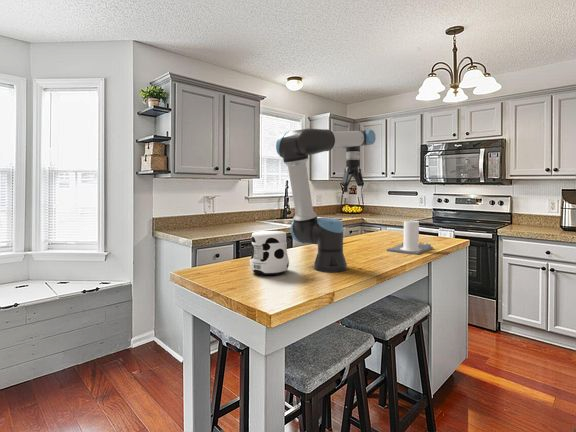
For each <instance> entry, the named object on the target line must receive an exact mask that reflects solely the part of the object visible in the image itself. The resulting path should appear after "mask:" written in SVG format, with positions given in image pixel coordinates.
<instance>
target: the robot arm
mask: <svg viewBox="0 0 576 432" xmlns="http://www.w3.org/2000/svg"><path fill="white" fill-rule="evenodd" d="M376 139H377V138H376V133H375V131H374V130H373V129H365V130H347V131H346V130H342V131H337V130H336V131H335V130H334V131H332V130H331V129H324V128H322V129H321V128H303V129H298V130H288V131H286V132H283V133H281V134H280V135H279V136H278V138H277V139H276V141H275V142H276V143H275V144H276V145H275V149H276V152H277V153H276V154H278V157H280V158H282V159H283V163H284V164H285V165H286V166H287V170H288V176H289V182H290V188H291V194H292V200H293V205H294V212H295V215H294V216H293V219H292V220H293V221H292V222H291V224H290V225H291V226H290V227H289V228H290V229H289V230H290V235H291V237H292V238H293V240H294V241H296V242H298V243H301V244H307V245H308V244H310V245H317V254H316V257H315V260H314V263H313V265H314V266H313V269H314V270H315V271H318V272H323V273H340V272H344V271H346V270H347V269H348V263H347V261H346V257H345V254H344V223H343V222H342V220H340V219H337V218H334V217H318V214H317V213H316V212H314V207H313V201H312V194H311V188H310V181H309V175H308V168H307V161H308V159H309V156H312V155H316V154H321V153H323V152H329V151H332V150H333V149H339V148H343V149H345V150H346V151H345V159H346V161H345V164H346V165H345V168H344V173H343V177H342V180H341V186H342V187H343V198H344V199H349V198H350V182H351V180H352V178H354V180H355V182H356V183H355V184H356V185H357V186H356V198H362V187H363V186H364V184H365V182H364V179H363V174H362V168H359V167H360V165H361V164H360V163H361V160H360V159H361V153H360V152H361V151H360V146H361V147H363V146H371V145H374V143H375V142H376Z"/></svg>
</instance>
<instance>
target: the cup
mask: <svg viewBox="0 0 576 432" xmlns="http://www.w3.org/2000/svg"><path fill="white" fill-rule="evenodd" d="M419 232H420V221H419V220H403V249H406V250H418V245H419V242H420V241H419V235H420V233H419Z"/></svg>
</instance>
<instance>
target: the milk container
mask: <svg viewBox="0 0 576 432" xmlns="http://www.w3.org/2000/svg"><path fill="white" fill-rule="evenodd" d="M287 243H288V242H287V232H286V231H282V230H280V231H279V230H260V231H254V232H252V234H251V256H250V260H249V264H250V266H249V267H250V270H251V272H253V273H254V274H257V275H261V276H262V275H263V276H271V275H272V276H276V275H280V274H283V273H285V272H287V271H288V269H289V266H290V259H289V255H288V250H287V249H288V248H287Z"/></svg>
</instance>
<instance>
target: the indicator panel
mask: <svg viewBox="0 0 576 432" xmlns="http://www.w3.org/2000/svg"><path fill="white" fill-rule="evenodd" d="M403 242H404V241H403ZM403 242H401V244H399V245H396V246H393V247H390V248H387V249H386V252H390V253H391V252H392V253H400V254H407V255H415V256H416V255H417V256H419V255H420V254H423V253H425V252H428V251H430V250H433V249H434V246H432V245H431V243H428V242H424V243H422V242H420V241H419V245H418V250H406V249H403Z"/></svg>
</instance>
